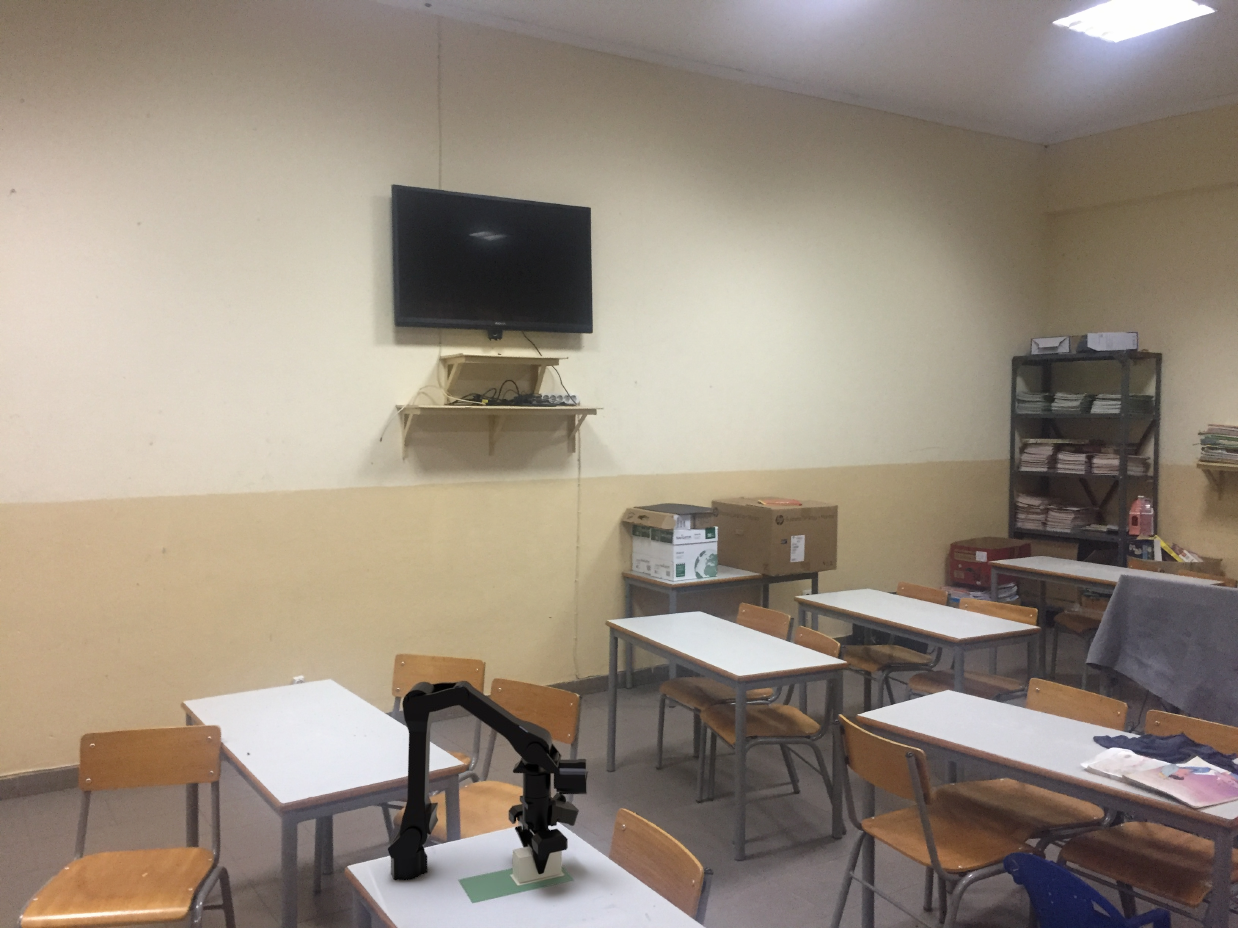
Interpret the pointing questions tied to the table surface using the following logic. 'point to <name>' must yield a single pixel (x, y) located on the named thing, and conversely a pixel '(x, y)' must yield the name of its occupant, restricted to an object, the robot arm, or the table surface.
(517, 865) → the block
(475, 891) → the board
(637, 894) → the table surface
